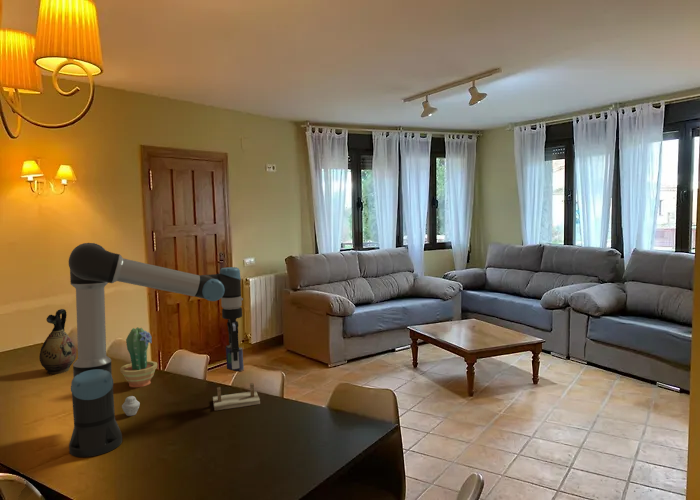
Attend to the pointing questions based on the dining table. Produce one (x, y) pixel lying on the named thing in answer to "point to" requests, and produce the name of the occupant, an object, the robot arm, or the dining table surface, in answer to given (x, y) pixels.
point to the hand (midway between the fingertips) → (234, 365)
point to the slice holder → (235, 399)
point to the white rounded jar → (130, 406)
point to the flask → (229, 359)
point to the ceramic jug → (57, 346)
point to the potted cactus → (138, 359)
